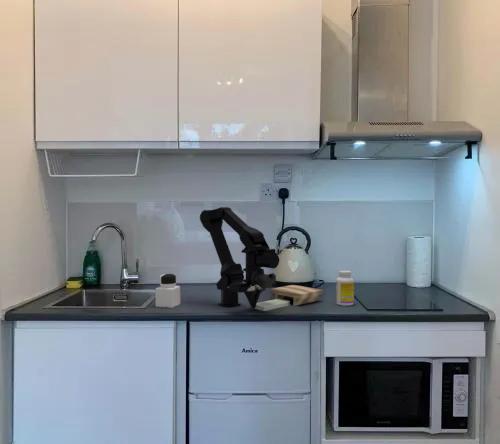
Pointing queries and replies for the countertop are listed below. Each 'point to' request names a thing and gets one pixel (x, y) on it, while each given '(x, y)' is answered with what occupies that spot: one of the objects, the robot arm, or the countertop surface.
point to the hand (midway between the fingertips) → (253, 308)
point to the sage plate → (272, 304)
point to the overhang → (297, 294)
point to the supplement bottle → (345, 289)
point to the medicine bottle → (167, 292)
